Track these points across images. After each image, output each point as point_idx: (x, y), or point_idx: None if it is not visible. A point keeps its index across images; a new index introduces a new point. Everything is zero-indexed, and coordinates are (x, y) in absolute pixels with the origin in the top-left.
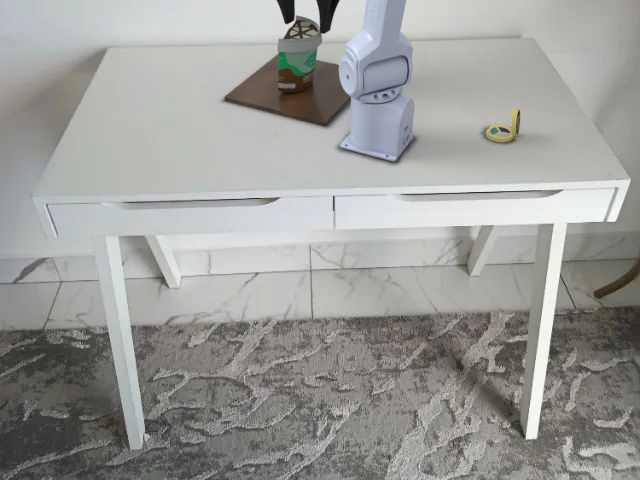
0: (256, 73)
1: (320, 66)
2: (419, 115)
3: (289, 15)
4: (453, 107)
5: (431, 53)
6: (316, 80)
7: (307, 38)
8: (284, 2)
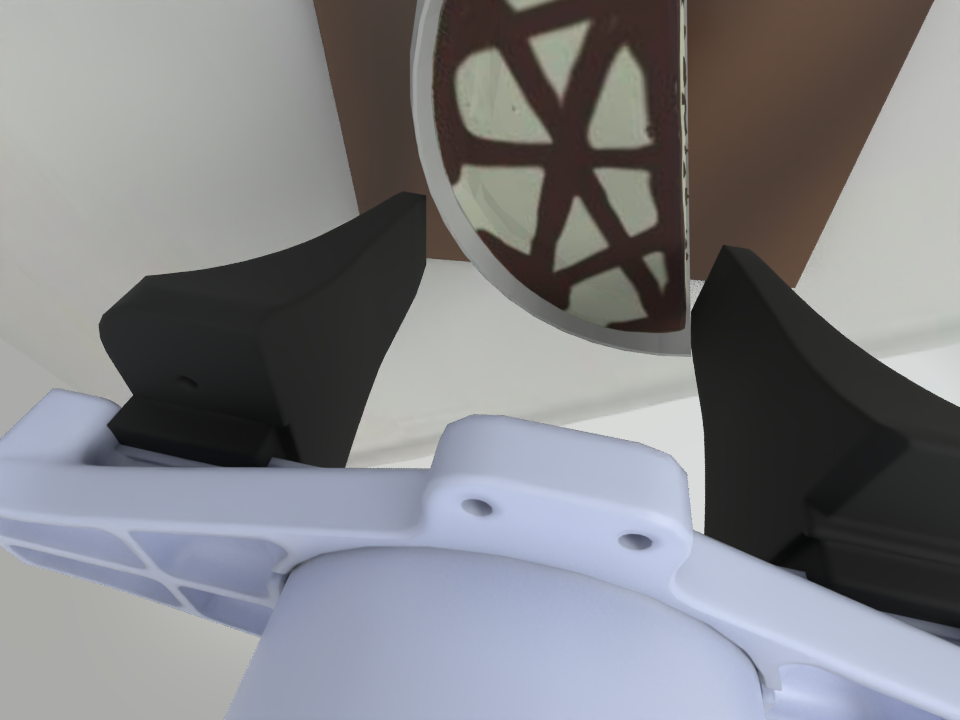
0: (903, 26)
1: None
2: (47, 23)
3: (720, 306)
4: (37, 140)
5: None
6: None
7: (424, 8)
8: (774, 355)
